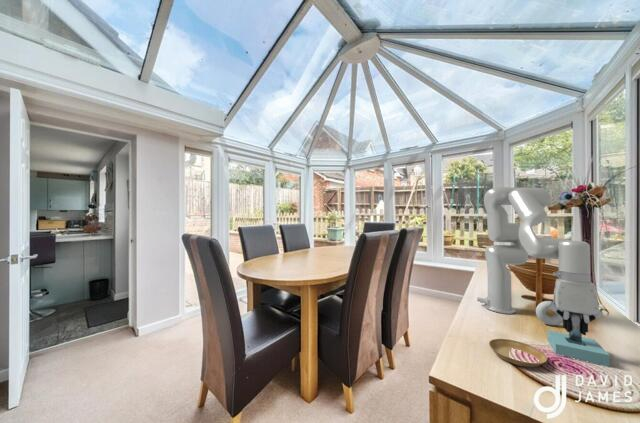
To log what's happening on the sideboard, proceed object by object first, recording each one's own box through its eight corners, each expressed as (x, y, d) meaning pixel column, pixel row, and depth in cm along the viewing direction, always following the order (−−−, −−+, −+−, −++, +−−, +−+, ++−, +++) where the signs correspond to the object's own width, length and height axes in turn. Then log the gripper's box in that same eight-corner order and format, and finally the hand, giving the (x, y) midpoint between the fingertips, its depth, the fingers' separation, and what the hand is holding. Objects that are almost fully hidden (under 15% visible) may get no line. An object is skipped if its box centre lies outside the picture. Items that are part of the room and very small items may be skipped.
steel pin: (570, 340, 83) (570, 310, 83) (567, 336, 85) (567, 307, 85) (583, 342, 81) (582, 312, 81) (580, 339, 84) (579, 309, 84)
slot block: (555, 354, 81) (555, 343, 81) (547, 339, 91) (547, 330, 91) (609, 367, 75) (609, 355, 75) (594, 349, 85) (594, 339, 85)
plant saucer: (553, 378, 70) (553, 368, 70) (490, 361, 77) (490, 353, 77) (541, 354, 82) (541, 346, 82) (487, 342, 90) (487, 334, 90)
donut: (563, 325, 104) (562, 301, 104) (568, 328, 101) (567, 304, 101) (534, 321, 107) (533, 298, 108) (538, 325, 104) (537, 301, 104)
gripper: (544, 276, 85) (545, 330, 85) (615, 283, 76) (616, 343, 76) (540, 272, 91) (540, 322, 91) (604, 278, 82) (606, 334, 82)
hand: (575, 331), depth 83 cm, fingers closed on steel pin, 3 cm apart
